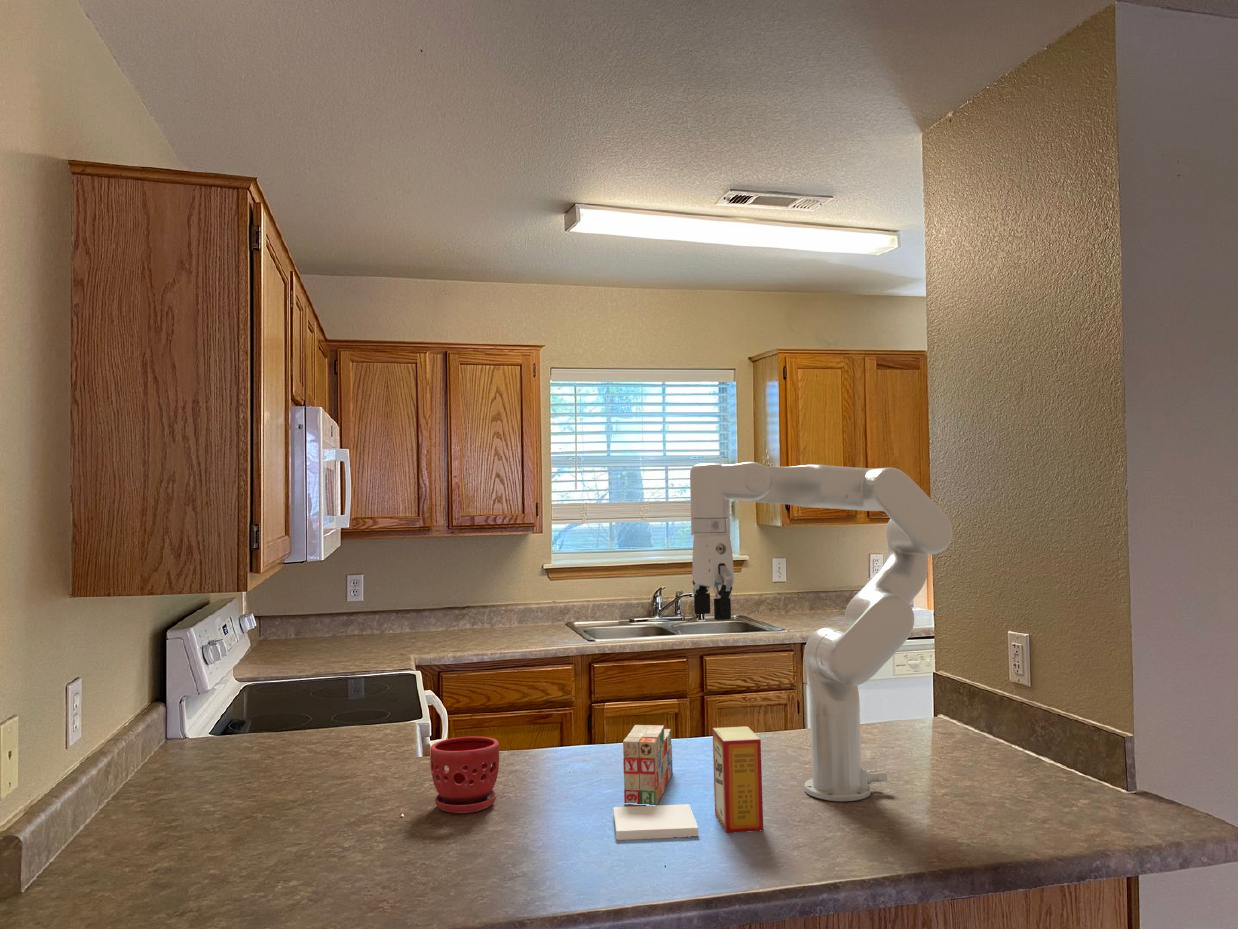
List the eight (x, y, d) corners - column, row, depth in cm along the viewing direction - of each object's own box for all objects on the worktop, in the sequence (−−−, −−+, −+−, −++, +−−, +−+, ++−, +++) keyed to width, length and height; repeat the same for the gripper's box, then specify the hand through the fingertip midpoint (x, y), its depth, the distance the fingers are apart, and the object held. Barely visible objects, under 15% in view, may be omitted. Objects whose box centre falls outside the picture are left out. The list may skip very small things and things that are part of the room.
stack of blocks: (644, 772, 191) (642, 713, 192) (673, 773, 190) (671, 714, 190) (624, 806, 170) (622, 740, 171) (656, 807, 169) (654, 741, 169)
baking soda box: (715, 814, 164) (712, 725, 165) (750, 812, 165) (747, 724, 165) (726, 833, 155) (723, 739, 155) (763, 831, 155) (760, 737, 156)
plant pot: (514, 804, 172) (513, 740, 173) (458, 823, 163) (457, 756, 163) (472, 790, 181) (471, 730, 182) (417, 807, 172) (416, 744, 172)
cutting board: (689, 812, 165) (689, 804, 165) (698, 836, 153) (698, 827, 153) (613, 815, 165) (613, 807, 165) (616, 840, 153) (616, 831, 153)
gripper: (747, 528, 166) (749, 621, 165) (710, 526, 183) (712, 610, 182) (710, 529, 164) (712, 623, 163) (676, 527, 180) (677, 612, 180)
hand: (712, 616), depth 173 cm, fingers open, 9 cm apart
